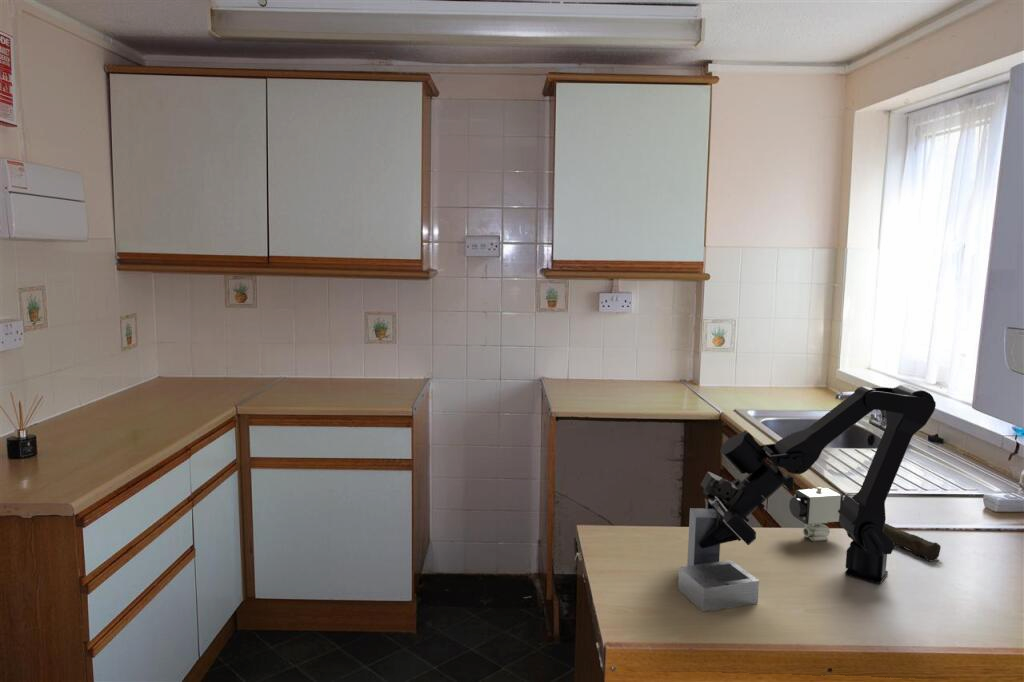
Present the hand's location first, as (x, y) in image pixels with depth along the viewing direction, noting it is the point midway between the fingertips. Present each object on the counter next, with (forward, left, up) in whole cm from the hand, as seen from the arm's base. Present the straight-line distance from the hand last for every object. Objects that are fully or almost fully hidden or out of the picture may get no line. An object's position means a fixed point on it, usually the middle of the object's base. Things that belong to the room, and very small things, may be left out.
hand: (697, 540), depth 144 cm
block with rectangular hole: (-8, +7, -7) cm, 12 cm away
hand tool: (-27, -42, -7) cm, 51 cm away
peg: (-1, -1, -7) cm, 7 cm away
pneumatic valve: (-12, -34, -7) cm, 37 cm away
